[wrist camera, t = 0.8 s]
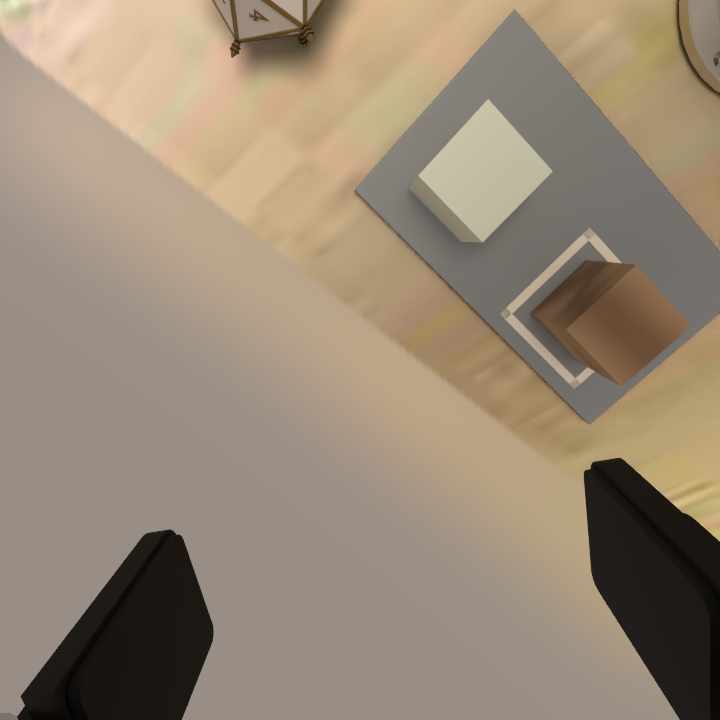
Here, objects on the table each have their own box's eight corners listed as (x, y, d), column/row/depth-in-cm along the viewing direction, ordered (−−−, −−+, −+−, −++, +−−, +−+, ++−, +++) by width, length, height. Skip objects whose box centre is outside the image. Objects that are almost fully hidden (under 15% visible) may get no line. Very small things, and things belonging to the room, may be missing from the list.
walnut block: (585, 260, 31) (636, 264, 25) (632, 310, 32) (691, 326, 26) (530, 313, 32) (566, 329, 26) (576, 360, 33) (621, 386, 27)
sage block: (464, 127, 29) (488, 98, 23) (516, 184, 30) (552, 171, 24) (408, 187, 30) (418, 175, 24) (460, 242, 31) (482, 242, 25)
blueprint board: (510, 15, 28) (515, 8, 27) (740, 285, 32) (751, 287, 31) (354, 190, 31) (354, 189, 30) (584, 420, 35) (590, 425, 34)
